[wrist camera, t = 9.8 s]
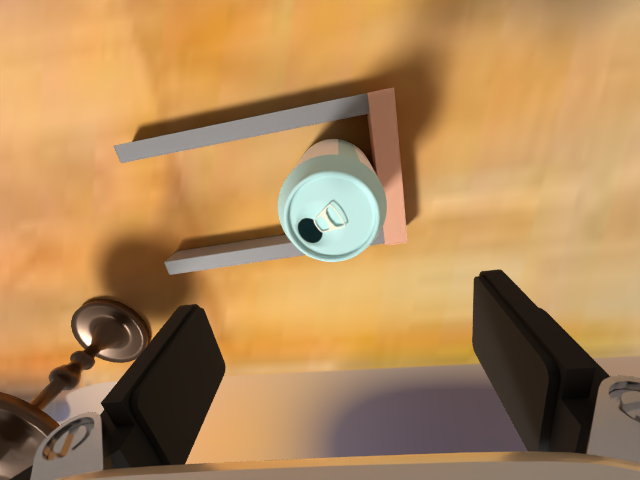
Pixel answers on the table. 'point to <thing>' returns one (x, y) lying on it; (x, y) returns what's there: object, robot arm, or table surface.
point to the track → (373, 104)
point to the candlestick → (68, 378)
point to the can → (332, 202)
